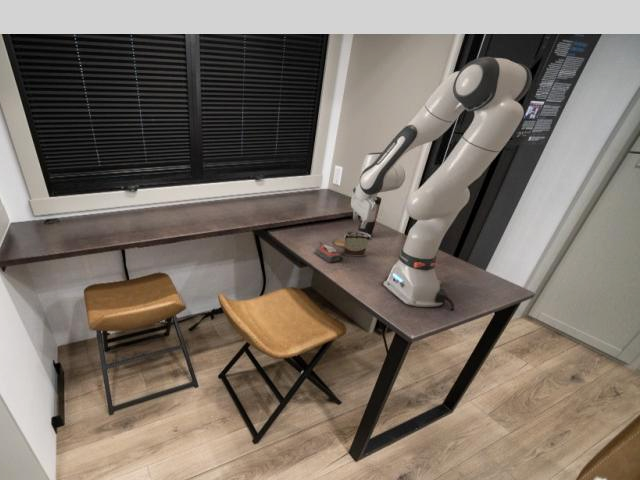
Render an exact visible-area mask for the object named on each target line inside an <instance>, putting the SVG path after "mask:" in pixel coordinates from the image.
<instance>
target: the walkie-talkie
mask: <svg viewBox="0 0 640 480" xmlns="http://www.w3.org/2000/svg"><path fill="white" fill-rule="evenodd" d="M318 244H319V245H321V246H317V247H316V249H315V254H316V255H318V256H319V257H321V258H322V259H324V260H325V261H326V262H328V263H335V262H340V261H343V260H344V257H342V254H341V253H339V252H338V251H337V250H336V248H334V247H333V246H331V245H328V244H325V243H323V242H322V241H318Z"/></svg>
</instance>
